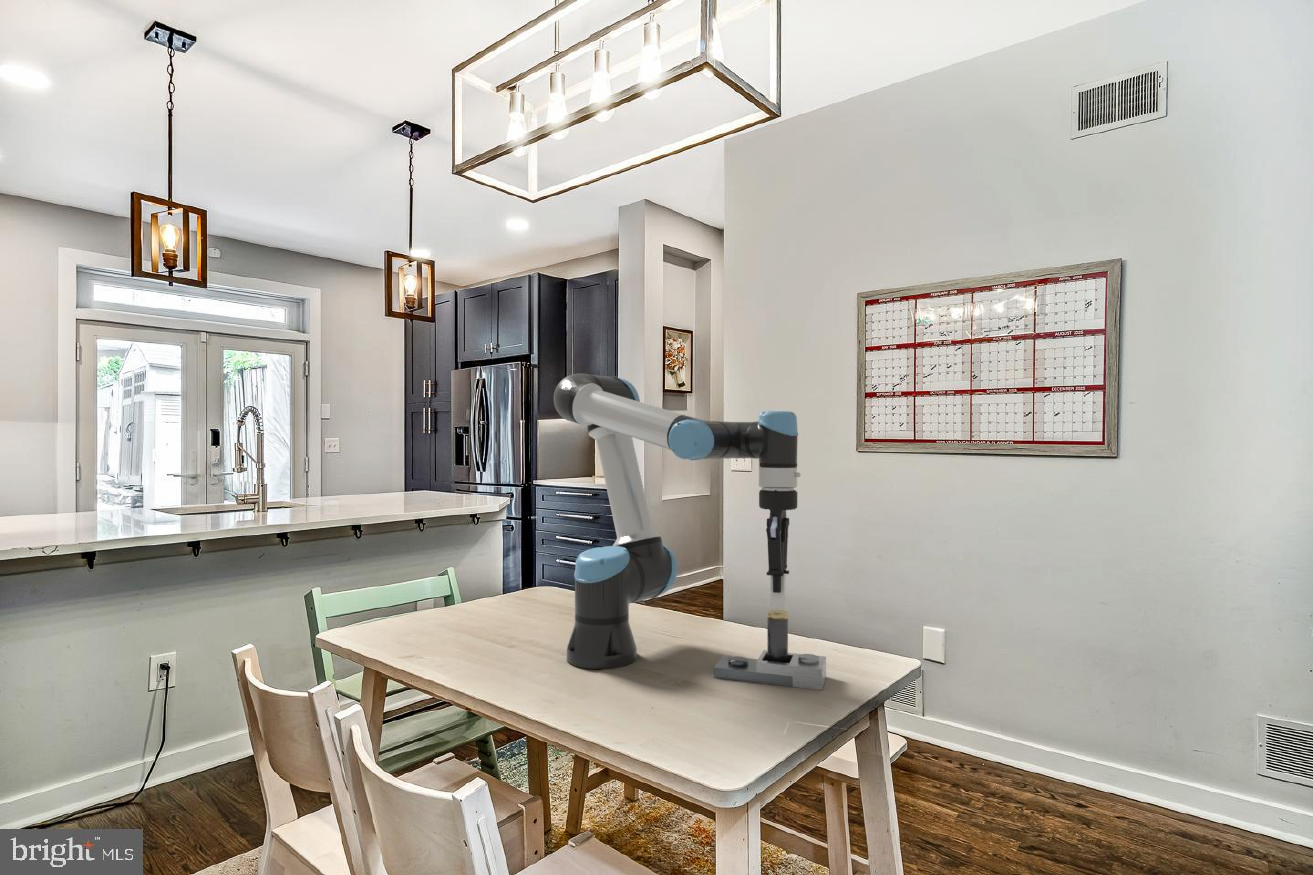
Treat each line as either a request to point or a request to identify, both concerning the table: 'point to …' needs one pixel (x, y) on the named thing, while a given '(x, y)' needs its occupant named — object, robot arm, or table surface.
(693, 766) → the table surface
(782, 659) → the pin
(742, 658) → the metal block with stud
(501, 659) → the table surface
